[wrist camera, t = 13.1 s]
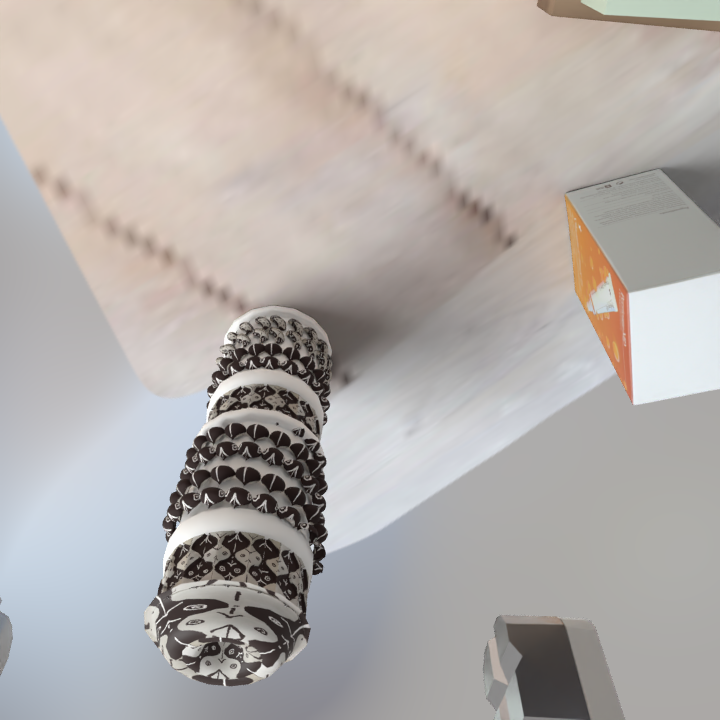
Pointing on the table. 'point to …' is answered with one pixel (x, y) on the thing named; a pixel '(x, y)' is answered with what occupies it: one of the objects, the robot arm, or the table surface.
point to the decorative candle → (248, 507)
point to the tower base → (568, 4)
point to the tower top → (659, 8)
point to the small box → (649, 283)
